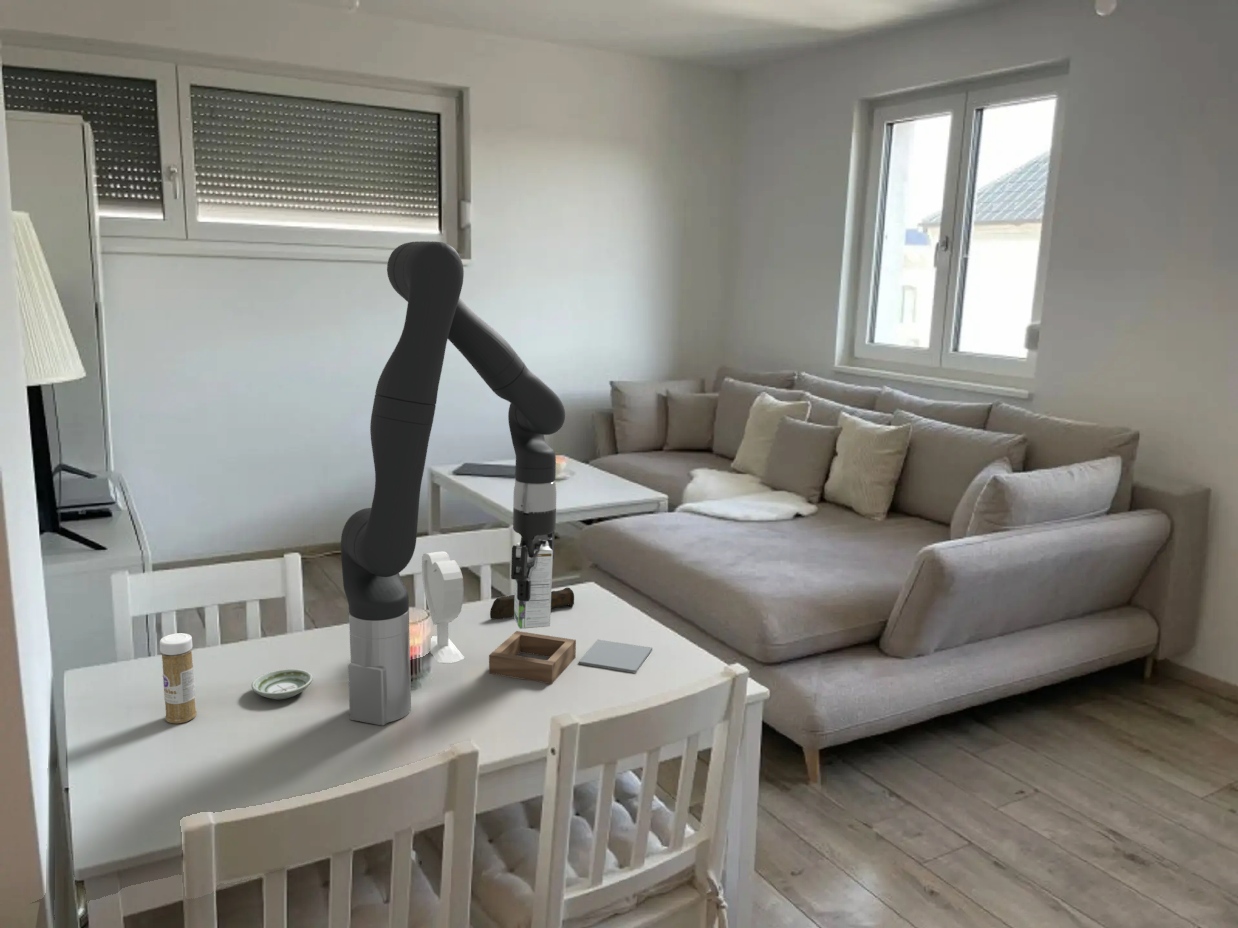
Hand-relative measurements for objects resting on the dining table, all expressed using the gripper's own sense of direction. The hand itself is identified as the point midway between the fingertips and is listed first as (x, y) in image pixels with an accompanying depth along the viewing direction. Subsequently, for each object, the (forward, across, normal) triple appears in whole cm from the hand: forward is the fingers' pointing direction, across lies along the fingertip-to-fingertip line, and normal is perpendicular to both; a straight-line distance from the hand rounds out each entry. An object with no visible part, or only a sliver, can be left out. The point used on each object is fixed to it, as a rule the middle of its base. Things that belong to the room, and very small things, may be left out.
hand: (532, 592), depth 165 cm
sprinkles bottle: (+15, +38, -44) cm, 60 cm away
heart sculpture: (+14, -1, -19) cm, 24 cm away
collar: (+14, 0, 0) cm, 14 cm away
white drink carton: (+6, 0, 0) cm, 6 cm away
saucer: (+15, +25, -35) cm, 45 cm away
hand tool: (+14, -25, -10) cm, 30 cm away
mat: (+14, -9, +13) cm, 21 cm away
